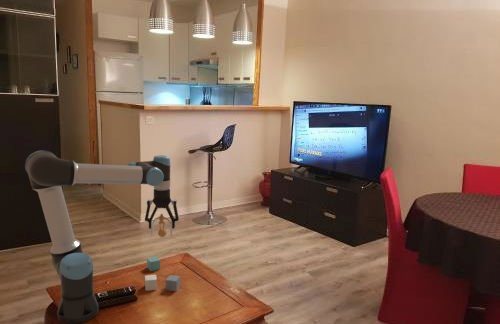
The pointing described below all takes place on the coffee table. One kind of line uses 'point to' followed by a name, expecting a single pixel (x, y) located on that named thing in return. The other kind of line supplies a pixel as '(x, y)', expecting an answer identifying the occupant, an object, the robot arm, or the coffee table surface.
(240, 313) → the coffee table surface
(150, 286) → the cube offwhite
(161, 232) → the figurine
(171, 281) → the cube slate
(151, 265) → the cube teal
